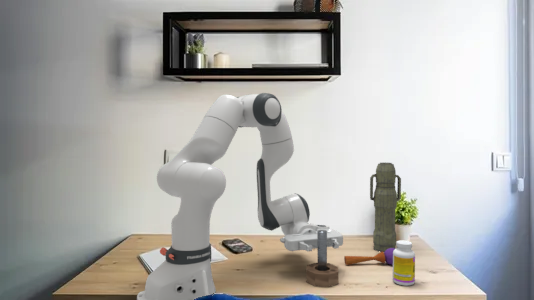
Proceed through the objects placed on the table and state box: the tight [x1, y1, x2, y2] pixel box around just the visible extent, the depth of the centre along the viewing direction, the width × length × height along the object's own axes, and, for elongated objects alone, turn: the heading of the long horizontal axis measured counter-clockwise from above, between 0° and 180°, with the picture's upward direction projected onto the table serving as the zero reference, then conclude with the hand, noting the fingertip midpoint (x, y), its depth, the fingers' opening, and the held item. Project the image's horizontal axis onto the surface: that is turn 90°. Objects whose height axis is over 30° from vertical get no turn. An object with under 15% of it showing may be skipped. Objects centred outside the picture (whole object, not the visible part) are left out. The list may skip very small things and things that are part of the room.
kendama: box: [343, 248, 395, 266], centre depth 138 cm, size 6×6×20 cm
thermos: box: [369, 162, 402, 253], centre depth 155 cm, size 9×12×35 cm
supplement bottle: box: [392, 239, 416, 287], centre depth 122 cm, size 7×7×13 cm
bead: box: [305, 262, 339, 288], centre depth 123 cm, size 10×10×4 cm
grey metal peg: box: [316, 230, 328, 271], centre depth 123 cm, size 3×3×16 cm
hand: (323, 247), depth 122 cm, fingers open, 8 cm apart
